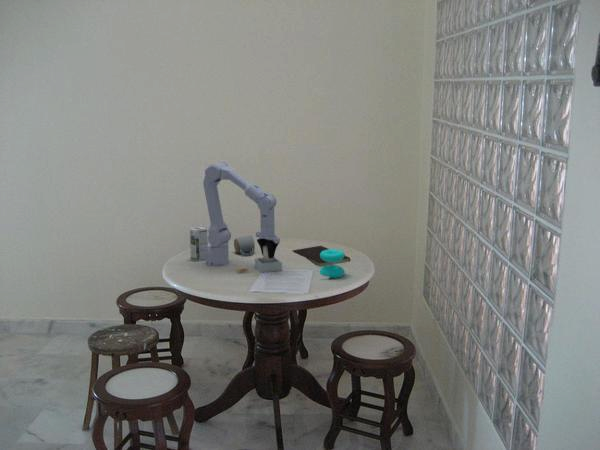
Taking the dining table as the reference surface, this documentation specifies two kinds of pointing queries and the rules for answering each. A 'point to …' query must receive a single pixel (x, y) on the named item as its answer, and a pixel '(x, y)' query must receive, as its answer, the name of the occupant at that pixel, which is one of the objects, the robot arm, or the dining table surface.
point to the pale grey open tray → (268, 265)
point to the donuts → (332, 256)
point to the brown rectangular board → (242, 271)
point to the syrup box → (198, 243)
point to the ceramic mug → (244, 245)
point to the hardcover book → (317, 255)
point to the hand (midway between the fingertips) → (268, 256)
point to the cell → (266, 254)
